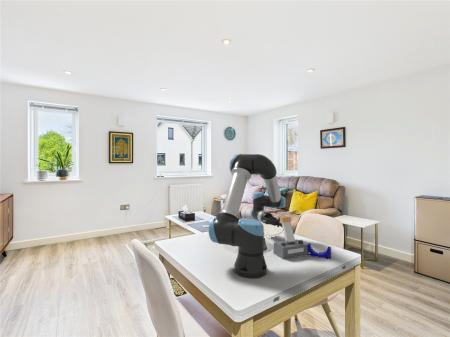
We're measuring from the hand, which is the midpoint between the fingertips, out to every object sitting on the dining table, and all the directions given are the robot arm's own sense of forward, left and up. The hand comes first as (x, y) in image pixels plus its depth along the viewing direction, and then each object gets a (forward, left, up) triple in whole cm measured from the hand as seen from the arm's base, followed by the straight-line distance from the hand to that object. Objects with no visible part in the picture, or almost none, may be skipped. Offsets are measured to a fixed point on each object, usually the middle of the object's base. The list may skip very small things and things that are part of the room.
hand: (287, 226), depth 138 cm
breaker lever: (0, -5, -7) cm, 9 cm away
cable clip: (+14, -10, -14) cm, 22 cm away
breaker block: (0, -5, -14) cm, 15 cm away
